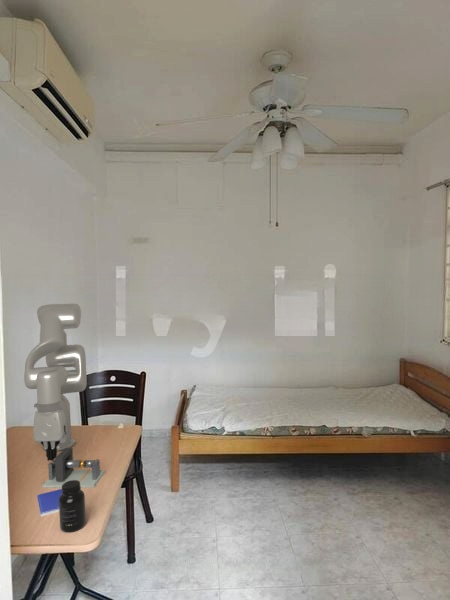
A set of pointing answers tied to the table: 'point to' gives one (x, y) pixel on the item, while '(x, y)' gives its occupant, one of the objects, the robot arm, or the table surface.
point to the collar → (63, 464)
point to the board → (79, 475)
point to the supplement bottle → (72, 507)
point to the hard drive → (49, 502)
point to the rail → (77, 464)
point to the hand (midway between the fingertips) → (51, 458)
